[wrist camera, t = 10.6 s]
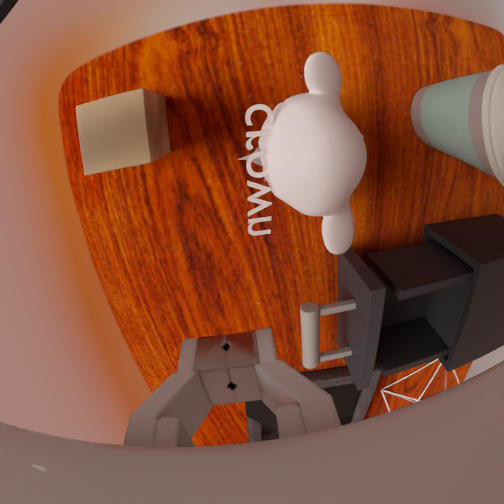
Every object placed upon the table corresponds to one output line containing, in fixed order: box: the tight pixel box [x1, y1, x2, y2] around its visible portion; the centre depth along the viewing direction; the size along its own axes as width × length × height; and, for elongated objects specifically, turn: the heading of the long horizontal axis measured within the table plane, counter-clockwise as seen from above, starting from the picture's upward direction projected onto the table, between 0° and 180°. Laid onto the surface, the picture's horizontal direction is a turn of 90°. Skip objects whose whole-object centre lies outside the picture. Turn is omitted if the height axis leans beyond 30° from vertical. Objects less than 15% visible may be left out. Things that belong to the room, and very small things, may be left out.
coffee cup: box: [411, 64, 504, 186], centre depth 15 cm, size 9×8×12 cm
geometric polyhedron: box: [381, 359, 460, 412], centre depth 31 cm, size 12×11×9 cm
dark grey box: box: [423, 214, 504, 372], centre depth 24 cm, size 12×12×9 cm
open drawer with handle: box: [300, 241, 474, 390], centre depth 24 cm, size 15×10×7 cm
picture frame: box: [246, 361, 382, 443], centre depth 35 cm, size 16×2×21 cm
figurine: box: [237, 52, 367, 255], centre depth 18 cm, size 12×8×10 cm
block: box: [76, 88, 171, 176], centre depth 17 cm, size 4×4×6 cm
